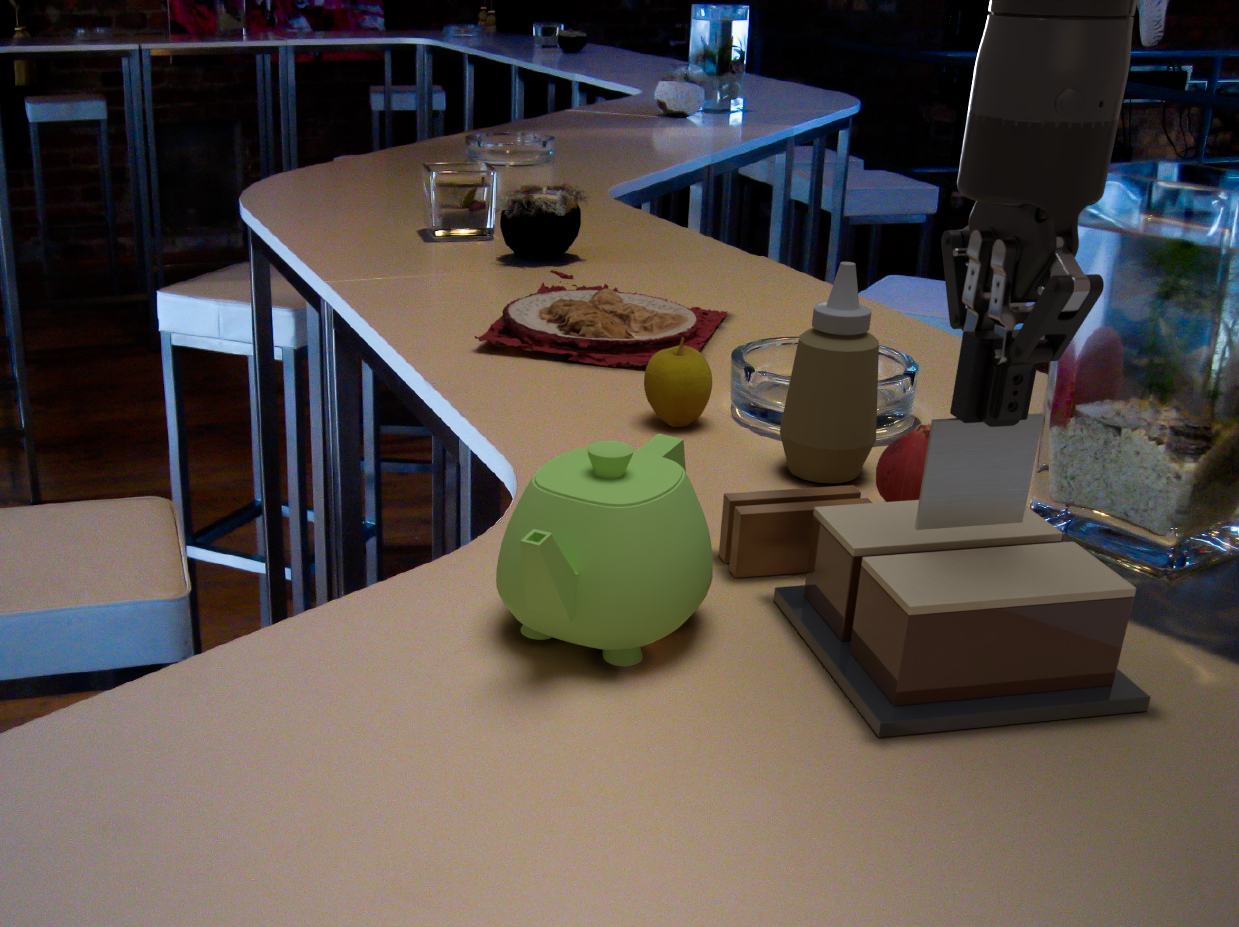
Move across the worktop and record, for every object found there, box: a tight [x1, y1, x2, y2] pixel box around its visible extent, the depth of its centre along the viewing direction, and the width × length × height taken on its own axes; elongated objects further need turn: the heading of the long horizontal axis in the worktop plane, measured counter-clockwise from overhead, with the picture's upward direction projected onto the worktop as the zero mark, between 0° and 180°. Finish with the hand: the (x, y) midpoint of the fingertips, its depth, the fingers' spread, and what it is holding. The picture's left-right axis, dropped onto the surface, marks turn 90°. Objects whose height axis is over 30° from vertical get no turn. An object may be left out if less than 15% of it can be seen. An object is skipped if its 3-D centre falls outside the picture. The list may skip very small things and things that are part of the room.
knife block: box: [718, 484, 873, 579], centre depth 92 cm, size 10×4×5 cm, turn 100°
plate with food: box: [474, 269, 728, 368], centre depth 146 cm, size 24×26×4 cm
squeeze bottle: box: [779, 261, 880, 484], centre depth 105 cm, size 8×8×18 cm
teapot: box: [495, 433, 714, 667], centre depth 81 cm, size 20×13×13 cm
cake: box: [773, 500, 1151, 738], centre depth 79 cm, size 17×17×8 cm
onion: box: [875, 422, 931, 502], centre depth 98 cm, size 6×6×8 cm
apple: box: [643, 337, 713, 428], centre depth 118 cm, size 6×6×8 cm
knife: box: [915, 328, 1045, 530], centre depth 75 cm, size 7×2×12 cm, turn 100°
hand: (988, 416), depth 74 cm, fingers closed on knife, 2 cm apart
